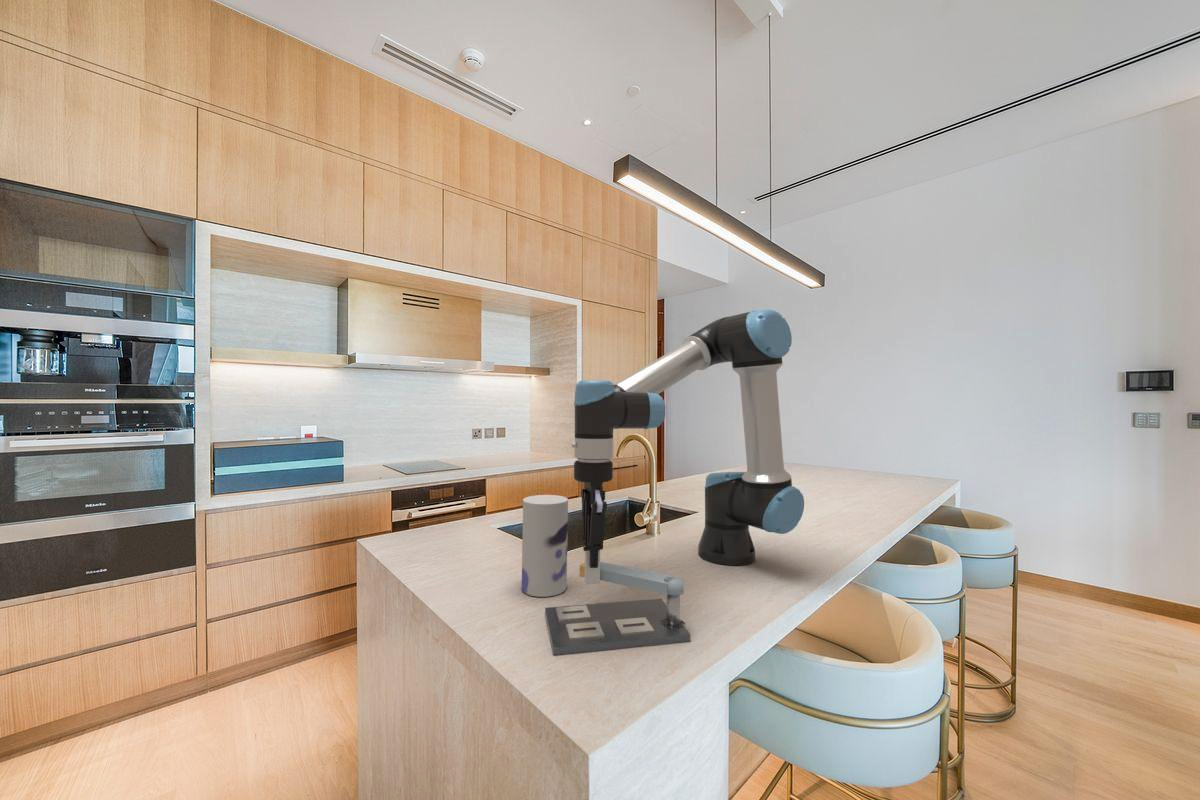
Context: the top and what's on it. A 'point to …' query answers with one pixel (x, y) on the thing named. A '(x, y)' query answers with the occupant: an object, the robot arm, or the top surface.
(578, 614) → the slotted grey board
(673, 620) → the post
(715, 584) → the top surface
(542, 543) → the container
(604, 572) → the grey long bar
